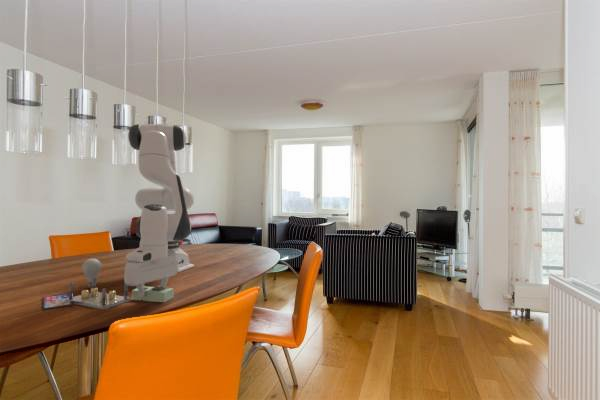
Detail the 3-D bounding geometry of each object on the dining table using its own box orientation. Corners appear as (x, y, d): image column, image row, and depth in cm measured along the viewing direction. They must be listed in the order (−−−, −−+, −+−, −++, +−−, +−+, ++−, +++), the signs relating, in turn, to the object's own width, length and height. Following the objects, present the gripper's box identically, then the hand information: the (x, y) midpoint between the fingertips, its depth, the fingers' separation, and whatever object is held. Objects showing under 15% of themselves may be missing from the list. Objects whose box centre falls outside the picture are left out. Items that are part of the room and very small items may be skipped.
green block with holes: (142, 296, 119) (142, 284, 119) (173, 298, 116) (173, 286, 116) (131, 300, 113) (131, 288, 113) (164, 303, 111) (164, 290, 111)
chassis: (94, 294, 118) (95, 277, 118) (130, 300, 112) (131, 282, 112) (65, 302, 109) (65, 283, 109) (103, 309, 103) (103, 289, 103)
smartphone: (42, 308, 101) (42, 296, 113) (42, 312, 101) (42, 299, 113) (72, 304, 105) (69, 293, 117) (72, 307, 105) (69, 295, 117)
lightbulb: (104, 286, 128) (105, 257, 128) (90, 290, 122) (91, 260, 122) (92, 285, 130) (92, 256, 130) (77, 289, 124) (78, 259, 124)
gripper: (168, 248, 126) (168, 285, 125) (121, 256, 107) (120, 299, 107) (182, 249, 123) (181, 287, 123) (136, 257, 104) (135, 302, 104)
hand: (152, 293), depth 115 cm, fingers open, 7 cm apart
